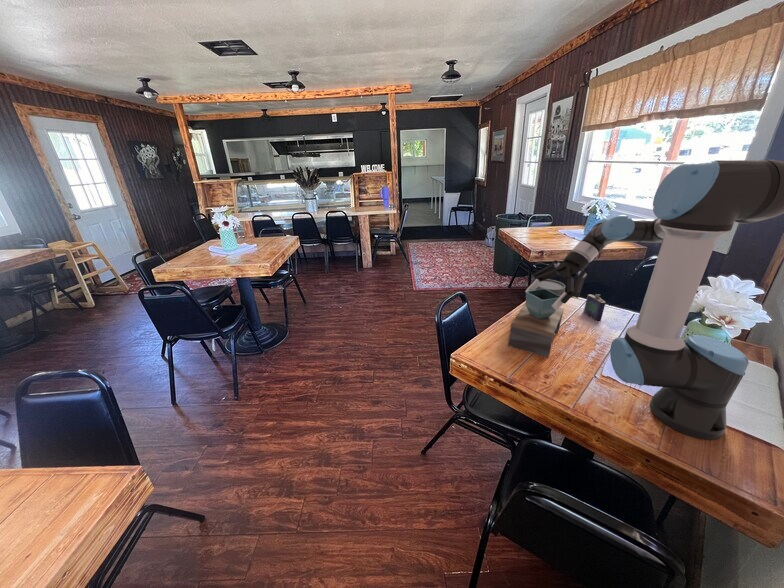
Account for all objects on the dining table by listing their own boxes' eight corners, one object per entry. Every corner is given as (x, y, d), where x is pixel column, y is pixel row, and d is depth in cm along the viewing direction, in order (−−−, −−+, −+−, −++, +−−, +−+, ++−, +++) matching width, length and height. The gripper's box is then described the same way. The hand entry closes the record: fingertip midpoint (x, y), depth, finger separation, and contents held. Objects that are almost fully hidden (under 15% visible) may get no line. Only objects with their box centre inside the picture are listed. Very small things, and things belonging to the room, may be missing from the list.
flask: (581, 312, 142) (587, 290, 138) (587, 311, 142) (593, 290, 138) (597, 322, 134) (603, 299, 129) (603, 321, 134) (609, 298, 130)
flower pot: (540, 308, 124) (544, 287, 120) (557, 318, 116) (562, 296, 113) (521, 312, 122) (525, 291, 118) (538, 322, 114) (542, 300, 110)
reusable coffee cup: (541, 306, 148) (547, 277, 141) (565, 318, 137) (572, 286, 131) (522, 312, 143) (527, 282, 137) (545, 324, 132) (551, 292, 126)
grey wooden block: (548, 357, 111) (553, 333, 107) (508, 345, 119) (511, 322, 114) (558, 330, 128) (563, 308, 123) (523, 321, 135) (526, 300, 131)
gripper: (615, 274, 105) (571, 320, 107) (558, 253, 127) (521, 293, 129) (608, 260, 102) (562, 309, 104) (549, 242, 123) (512, 283, 125)
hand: (539, 300), depth 116 cm, fingers open, 13 cm apart
